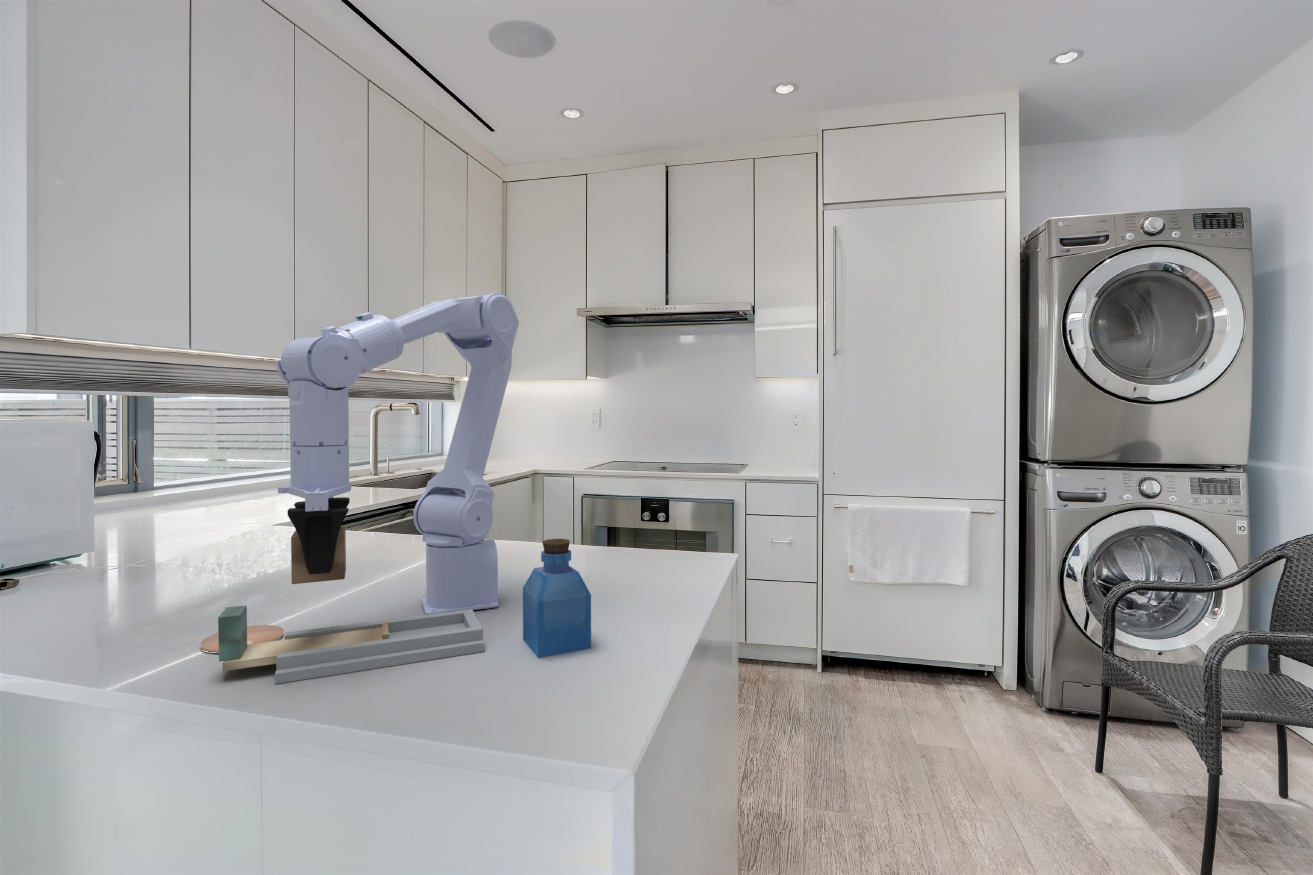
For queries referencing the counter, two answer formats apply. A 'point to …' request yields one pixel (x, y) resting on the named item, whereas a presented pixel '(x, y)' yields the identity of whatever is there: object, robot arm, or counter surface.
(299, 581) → the walnut block
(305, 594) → the counter surface
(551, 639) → the perfume bottle
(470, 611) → the lane board
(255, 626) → the coaster
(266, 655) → the multicoloured piece
